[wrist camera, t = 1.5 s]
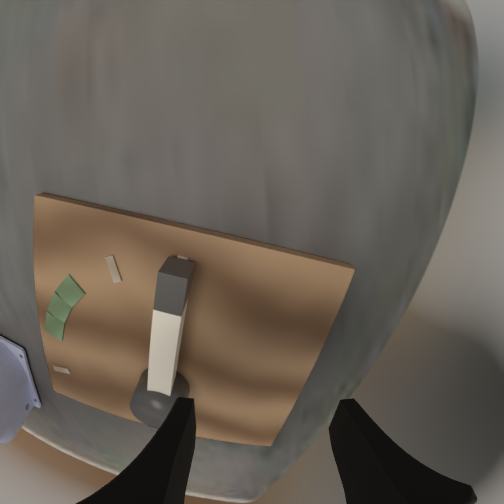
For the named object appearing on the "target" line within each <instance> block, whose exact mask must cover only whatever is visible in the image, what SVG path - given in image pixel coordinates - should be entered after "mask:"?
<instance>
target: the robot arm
mask: <svg viewBox="0 0 504 504" xmlns="http://www.w3.org/2000/svg"><path fill="white" fill-rule="evenodd" d="M34 406H36V407H38V408H41V406H42V405H41V402H40V400H39V397H38V394H37V391H36V388H35V385H34V381H33V378H32V375H31V371H30V368H29V364H28V360H27V357H26V353H25V350H24V349H23V348H22V347H20V346H18V345H16V344H15V343H13V342H11V341H9V340H7V339H5V338H4V337H2V336H0V444H3V443H7V442H9V441H11V440H12V439H13V438H14V437H15V436H16V434H17V433H18V431H19V429H20V428H21V426H22V424H23V423H24V421H25V420H26V418H27V416H28V415H29V413H30V412H31V410H32V408H33V407H34ZM329 434H330V440H331V446H332V450H333V454H334V457H335V461H336V464H337V467H338V471H339V474H340V477H341V481H342V484H343V488H344V492H345V497H346V502H347V504H474V503H476V501H477V497H476V495H475V493H474V491H473V489H472V487H471V486H470V485H467V484H464V483H461V482H458V481H455V480H453V479H450V478H448V477H446V476H444V475H441V474H439V473H438V472H436V471H434V470H432V469H430V468H429V467H427V466H425V465H423V464H422V463H420V462H419V461H417V460H416V459H414V458H413V457H412V456H411V455H409V454H408V453H406V452H405V451H404V450H403V449H402V448H400V447H399V446H398V445H397V444H396V443H394V441H392V439H391V438H389V437H388V436H387V435H386V434H385V433H384V432H383V431H382V430H381V429H380V427H379V426H378V425H377V424H376V423H375V422H374V421H373V420H372V419H371V418H370V417H369V415H368V414H367V413H366V412H365V411H364V410H363V408H362V407H361V406H360V405H359V404H358V403H357V402H356V401H355V399H343V400H340V402H339V405H338V407H337V410H336V412H335V415H334V417H333V419H332V422H331V424H330V426H329ZM195 438H196V417H195V404H194V398H185V397H178V398H176V400H175V403H174V405H173V406H172V408H171V410H170V412H169V414H168V415H167V417H166V419H165V420H164V422H163V423H162V425H161V426H160V428H159V429H158V431H157V432H156V434H155V435H154V436H153V438H152V439H151V440H150V442H149V443H148V444H147V445H146V447H145V448H144V449H143V450H142V451H141V453H140V454H139V455H138V456H137V457H136V458H135V459H134V460H133V461H132V462H131V463H130V464H129V465H128V466H127V467H126V468H125V469H124V470H123V471H122V472H121V473H120V474H119V475H118V476H116V477H115V478H114V479H113V480H112V481H110V482H109V483H108V484H107V485H105V486H104V487H102V488H101V489H99V490H98V491H97V492H95V493H94V494H92V495H91V496H89V497H87V498H86V499H84V500H82V501H80V502H78V503H76V504H184V498H185V491H186V486H187V482H188V477H189V472H190V468H191V463H192V458H193V453H194V449H195Z"/></svg>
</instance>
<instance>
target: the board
mask: <svg viewBox="0 0 504 504" xmlns="http://www.w3.org/2000/svg"><path fill="white" fill-rule="evenodd" d="M169 256H170V257H174V258H178V259H182V260H187V261H191V262H195V265H194V270H193V276H192V281H191V286H190V292H189V297H188V303H187V308H186V314H185V320H184V326H183V332H182V338H181V345H180V351H179V358H178V364H177V371H176V372H177V373H179V374H180V375H181V376H183V377H184V378H185V380H186V381H187V382H188V384H189V388H190V391H189V397H188V398H194V404H195V417H196V436H198V437H203V438H209V439H215V440H221V441H228V442H235V443H243V444H253V445H263V446H271V445H272V443H273V441H274V440H275V438H276V436H277V435H278V433H279V431H280V429H281V428H282V426H283V424H284V422H285V420H286V419H287V417H288V415H289V413H290V411H291V410H292V408H293V406H294V404H295V402H296V400H297V398H298V396H299V395H300V393H301V391H302V389H303V387H304V385H305V383H306V381H307V379H308V377H309V375H310V373H311V371H312V369H313V367H314V365H315V363H316V361H317V358H318V356H319V354H320V352H321V350H322V348H323V346H324V343H325V341H326V339H327V337H328V335H329V332H330V330H331V328H332V326H333V323H334V321H335V319H336V316H337V314H338V312H339V309H340V307H341V304H342V302H343V299H344V297H345V294H346V292H347V289H348V287H349V284H350V282H351V279H352V277H353V274H354V271H355V269H354V268H353V267H352V266H351V265H350V264H348V263H344V262H340V261H336V260H332V259H327V258H323V257H319V256H315V255H311V254H307V253H303V252H299V251H295V250H291V249H287V248H282V247H278V246H274V245H270V244H266V243H262V242H257V241H253V240H249V239H245V238H241V237H236V236H232V235H228V234H224V233H219V232H215V231H211V230H207V229H202V228H198V227H194V226H189V225H185V224H181V223H176V222H172V221H168V220H163V219H159V218H155V217H150V216H146V215H141V214H137V213H132V212H128V211H124V210H119V209H115V208H110V207H106V206H101V205H96V204H92V203H87V202H83V201H78V200H74V199H69V198H64V197H60V196H55V195H50V194H46V193H40V194H37V195H35V198H34V218H33V258H34V277H35V290H36V300H37V309H38V316H39V323H40V330H41V336H42V341H43V347H44V352H45V357H46V361H47V366H48V370H49V374H50V378H51V382H52V386H53V389H54V391H56V392H58V393H60V394H63V395H65V396H67V397H69V398H72V399H74V400H77V401H79V402H81V403H84V404H86V405H89V406H92V407H94V408H97V409H100V410H102V411H105V412H108V413H111V414H114V415H117V416H120V417H123V418H126V419H129V420H133V421H136V422H139V423H142V422H141V421H139V420H138V419H137V418H136V417H135V416H134V415H133V413H132V412H131V410H130V401H131V399H132V396H133V394H134V391H135V388H136V386H137V383H138V381H139V378H140V376H141V374H142V372H143V371H145V370H146V369H148V367H149V351H150V339H151V327H152V317H153V307H154V299H155V290H156V282H157V275H158V271H159V269H160V268H161V267H162V265H163V264H164V262H165V261H166V259H167V258H168V257H169ZM143 424H144V423H143Z"/></svg>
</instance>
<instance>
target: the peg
mask: <svg viewBox="0 0 504 504" xmlns="http://www.w3.org/2000/svg"><path fill="white" fill-rule="evenodd" d="M194 265H195V262H191V261H187V260H182V259H178V258H174V257H170V256H169V257H168V258H167V259H166V261H165V262H164V264H163V265H162V267H161V268H160V269H159V271H158V275H157V282H156V290H155V299H154V307H153V317H152V327H151V339H150V351H149V367H148V369H146V370H145V371H143V372H142V374H141V376H140V378H139V381H138V383H137V386H136V388H135V391H134V394H133V396H132V399H131V401H130V410H131V412H132V413H133V415H134V416H135V417H136V418H137V419H138V420H139V421H141V422H142V423H144V424H146V425H148V426H150V427H153V428H157V429H159V428H160V426H161V425H162V423H163V422H164V420H165V419H166V417H167V415H168V414H169V412H170V410H171V408H172V406H173V405H174V403H175V400H176V398H178V397H185V398H188V397H189V391H190V388H189V384H188V382H187V381H186V380H185V378H184V377H183V376H181V375H180V374H179V373H177V372H176V371H177V364H178V358H179V351H180V345H181V338H182V332H183V326H184V320H185V314H186V308H187V303H188V297H189V292H190V286H191V281H192V276H193V270H194Z"/></svg>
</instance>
